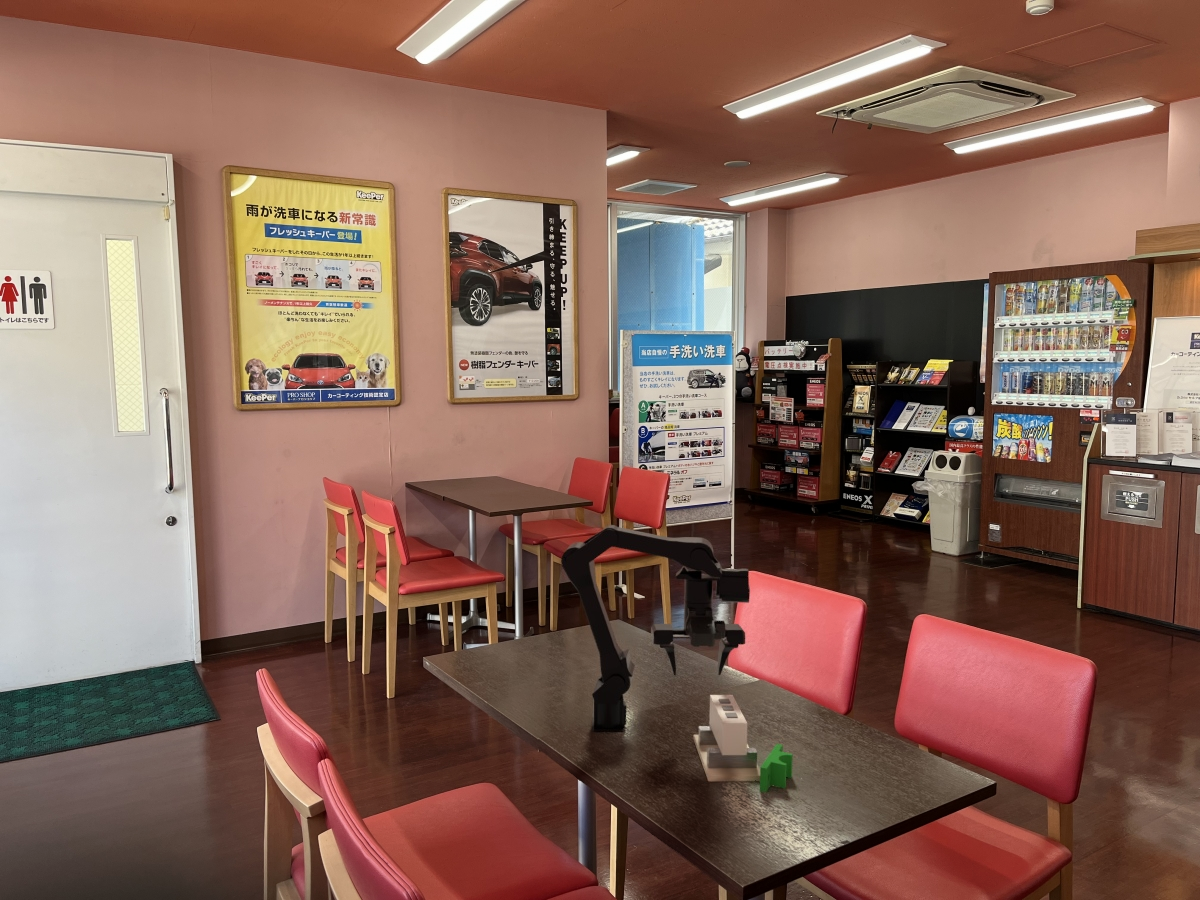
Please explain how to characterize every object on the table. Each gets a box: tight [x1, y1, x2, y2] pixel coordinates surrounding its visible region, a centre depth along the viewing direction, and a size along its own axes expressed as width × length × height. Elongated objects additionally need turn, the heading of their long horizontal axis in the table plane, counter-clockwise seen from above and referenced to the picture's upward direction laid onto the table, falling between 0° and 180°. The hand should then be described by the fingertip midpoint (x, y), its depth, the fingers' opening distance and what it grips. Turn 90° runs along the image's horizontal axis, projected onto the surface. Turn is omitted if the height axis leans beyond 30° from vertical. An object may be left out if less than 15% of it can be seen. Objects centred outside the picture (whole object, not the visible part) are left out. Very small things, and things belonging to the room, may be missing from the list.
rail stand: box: [693, 725, 760, 782], centre depth 161 cm, size 10×18×4 cm, turn 2°
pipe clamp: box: [759, 743, 794, 793], centre depth 153 cm, size 11×4×5 cm, turn 153°
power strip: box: [708, 694, 748, 755], centre depth 161 cm, size 4×14×6 cm, turn 2°
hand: (696, 674), depth 173 cm, fingers open, 9 cm apart
